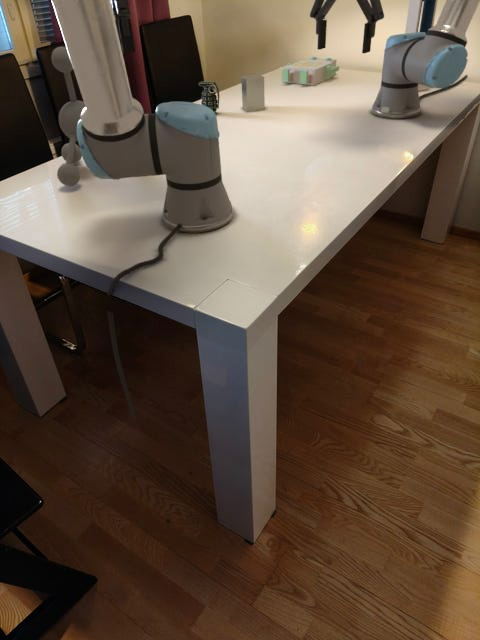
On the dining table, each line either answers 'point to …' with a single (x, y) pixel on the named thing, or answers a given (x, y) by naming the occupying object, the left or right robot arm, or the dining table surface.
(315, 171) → the dining table surface
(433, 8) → the electronic device
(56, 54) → the molecular model
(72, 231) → the dining table surface
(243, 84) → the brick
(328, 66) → the decorative block
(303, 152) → the dining table surface
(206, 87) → the grenade
